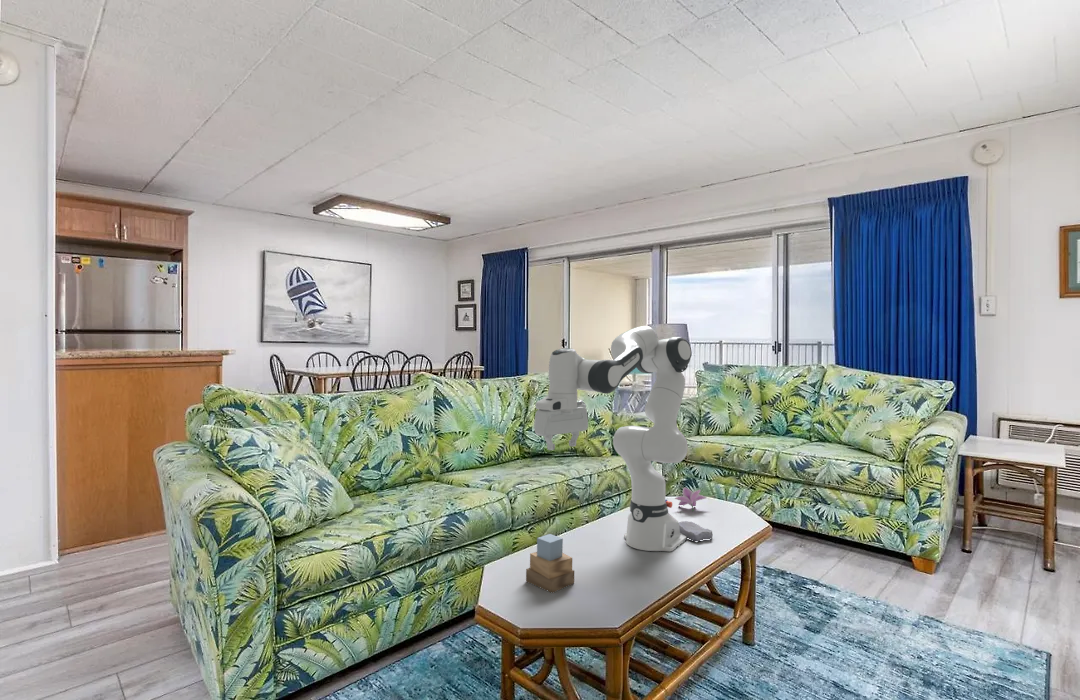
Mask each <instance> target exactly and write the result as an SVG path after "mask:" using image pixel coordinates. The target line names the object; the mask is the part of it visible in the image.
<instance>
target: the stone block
mask: <svg viewBox="0 0 1080 700" xmlns="http://www.w3.org/2000/svg"><path fill="white" fill-rule="evenodd" d="M678 522H679V527H680V533H681V534H683V535H685V536H686V537H687V538H689V539H691V540H693V541H700V540H703V539H710V538H711V539H712V538H713V530H712V529H709V528H705V527H703V526H701V525H699V524H697V523H695V522H692V521H689V520H688V521H687V520H682V521H678ZM693 541H692V542H693Z"/></svg>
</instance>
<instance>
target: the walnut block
mask: <svg viewBox="0 0 1080 700" xmlns="http://www.w3.org/2000/svg"><path fill="white" fill-rule="evenodd" d="M526 581H527V582H526ZM525 582H526V583H528V582H529V583H528V584H530V583H532V584H534V585H533V586H535V585H536V586H535V587H537V586H538V588H539V587H541V588H540V589H542V588H543V589H542V590H544V589H545V590H544V591H546V590H548V591H549V593H551V592H552V593H551V594H553V592H554V593H556V592H558V591H560V590H562V588H563V589H565V588H567V587H569V586H571V585H573V583H574V584H575V570H574V569H572V573H568V574H564V575H561V576H557V577H554V578H550V579H548V578H546V577H545V576H543V575H541V574H540V573H538V572H536V571H535V570H533V569H531V568H530V567H528V568H526V570H525ZM532 584H531V585H532ZM568 585H569V586H568ZM566 586H567V587H566ZM564 587H565V588H564ZM557 590H558V591H557ZM548 591H547V592H548ZM555 591H556V592H555Z"/></svg>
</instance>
